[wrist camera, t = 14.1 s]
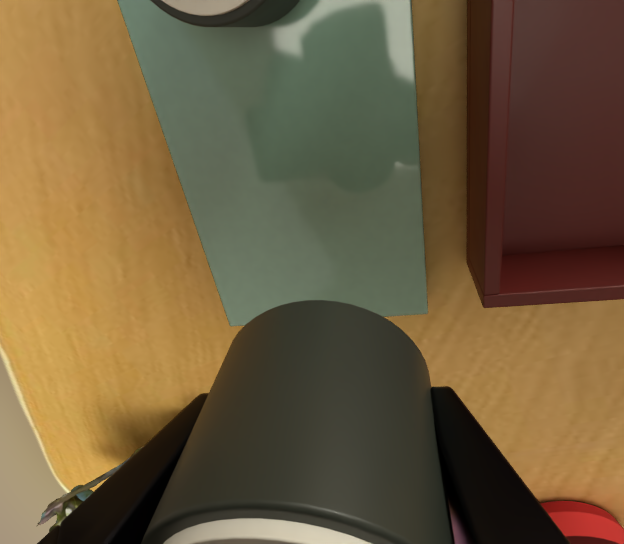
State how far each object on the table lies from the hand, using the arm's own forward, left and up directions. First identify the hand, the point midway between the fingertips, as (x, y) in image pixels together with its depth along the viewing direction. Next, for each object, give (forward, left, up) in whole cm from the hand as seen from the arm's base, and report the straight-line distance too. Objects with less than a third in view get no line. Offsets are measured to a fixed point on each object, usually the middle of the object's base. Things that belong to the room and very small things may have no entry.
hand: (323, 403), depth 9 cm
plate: (+5, +2, -11) cm, 12 cm away
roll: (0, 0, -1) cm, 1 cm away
